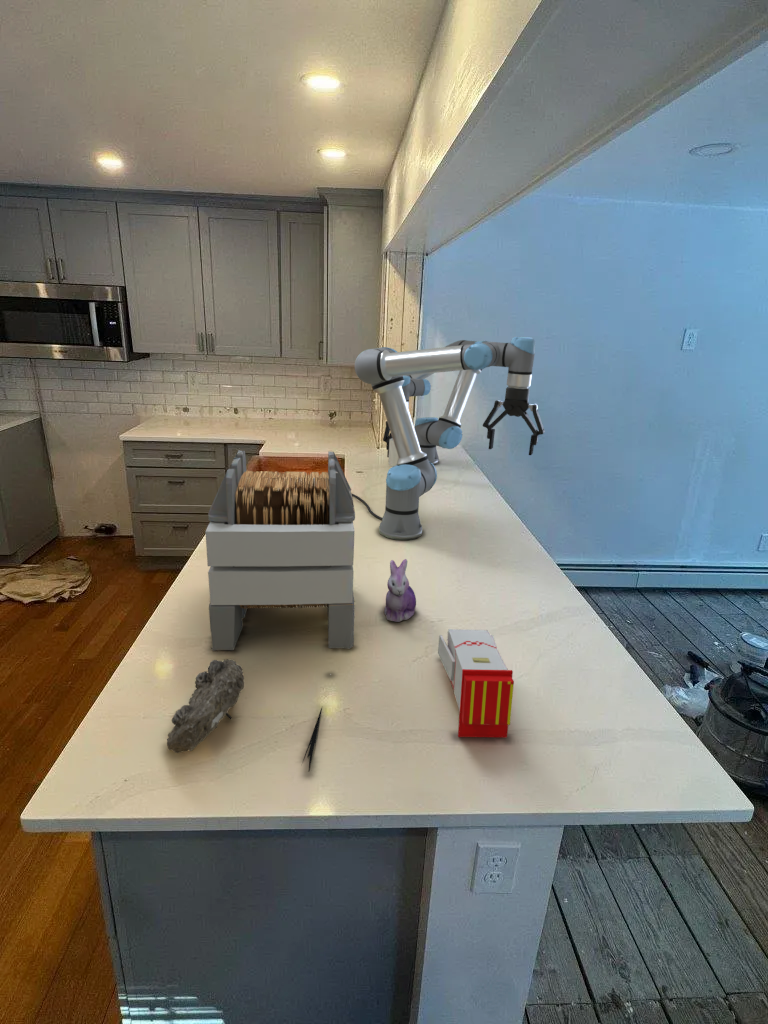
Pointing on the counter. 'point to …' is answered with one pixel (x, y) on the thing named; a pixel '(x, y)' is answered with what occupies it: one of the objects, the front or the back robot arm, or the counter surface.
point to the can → (392, 453)
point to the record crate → (281, 548)
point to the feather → (313, 740)
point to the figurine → (399, 594)
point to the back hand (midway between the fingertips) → (397, 458)
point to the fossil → (206, 705)
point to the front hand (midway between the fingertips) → (510, 451)
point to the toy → (478, 682)
